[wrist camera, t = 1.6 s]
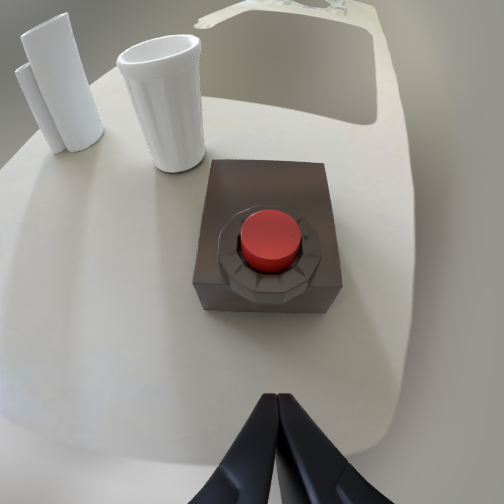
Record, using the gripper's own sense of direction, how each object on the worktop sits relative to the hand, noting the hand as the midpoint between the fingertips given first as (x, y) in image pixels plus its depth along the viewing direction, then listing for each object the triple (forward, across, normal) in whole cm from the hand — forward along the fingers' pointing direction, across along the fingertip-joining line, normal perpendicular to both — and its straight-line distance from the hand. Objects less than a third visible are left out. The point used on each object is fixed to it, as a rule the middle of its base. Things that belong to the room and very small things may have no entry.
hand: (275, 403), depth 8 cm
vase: (+33, +29, -14) cm, 46 cm away
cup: (+28, +10, -9) cm, 31 cm away
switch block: (+19, 0, 0) cm, 19 cm away
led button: (+12, 0, -2) cm, 12 cm away
